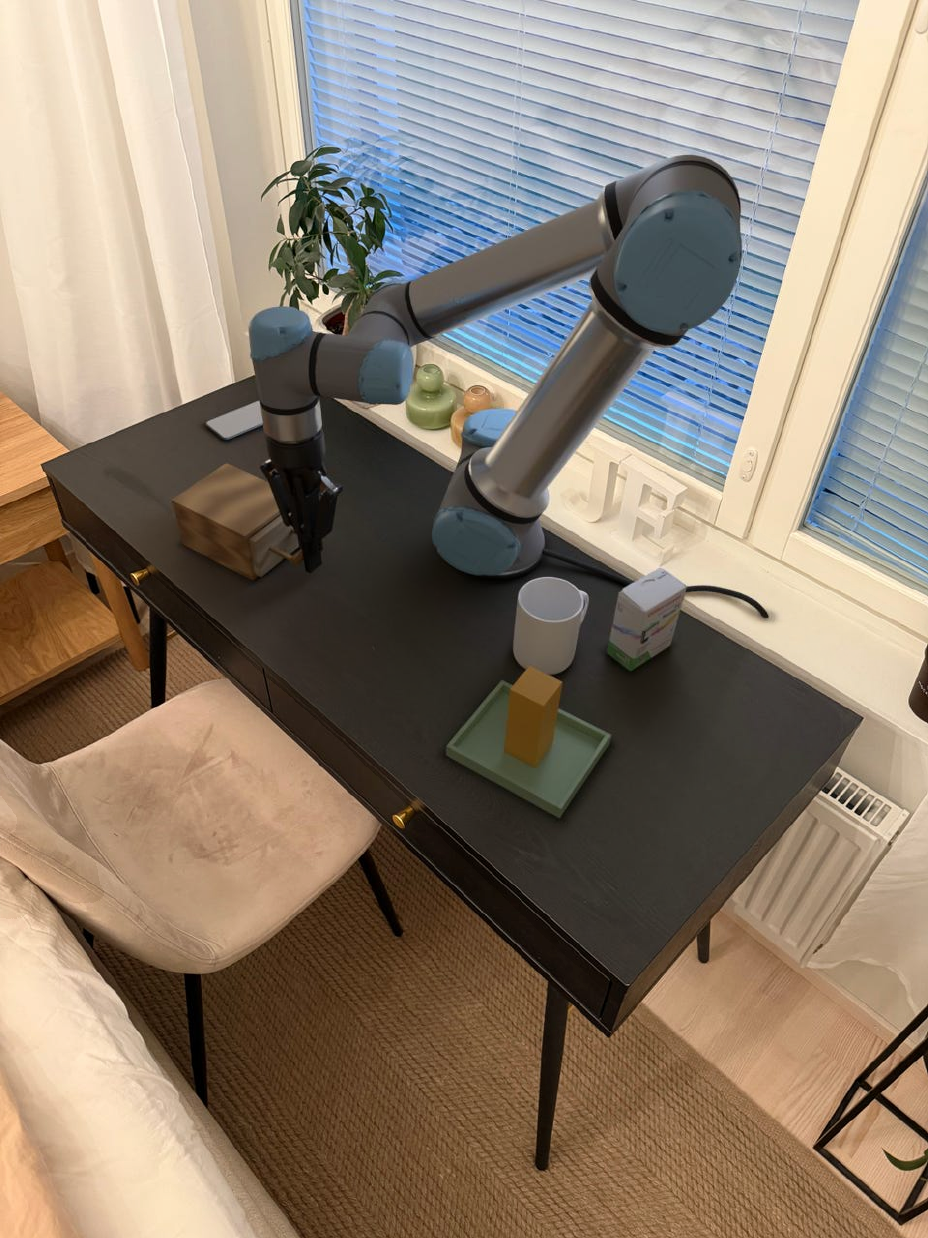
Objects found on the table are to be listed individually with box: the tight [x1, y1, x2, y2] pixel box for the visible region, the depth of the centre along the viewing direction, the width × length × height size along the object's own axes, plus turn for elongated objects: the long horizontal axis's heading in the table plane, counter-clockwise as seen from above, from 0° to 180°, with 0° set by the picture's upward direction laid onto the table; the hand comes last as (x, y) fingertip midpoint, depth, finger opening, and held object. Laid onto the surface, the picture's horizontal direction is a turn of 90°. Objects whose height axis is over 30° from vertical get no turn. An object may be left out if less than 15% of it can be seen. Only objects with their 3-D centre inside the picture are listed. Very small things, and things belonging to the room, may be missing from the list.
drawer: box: [249, 513, 324, 578], centre depth 135 cm, size 19×10×7 cm, turn 57°
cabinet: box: [171, 462, 280, 581], centre depth 136 cm, size 15×12×9 cm
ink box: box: [606, 567, 688, 672], centre depth 121 cm, size 8×5×12 cm, turn 129°
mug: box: [512, 576, 590, 676], centre depth 121 cm, size 9×12×11 cm
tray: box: [445, 679, 612, 819], centre depth 112 cm, size 16×13×2 cm
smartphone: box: [204, 400, 263, 441], centre depth 164 cm, size 7×1×15 cm
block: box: [504, 666, 563, 768], centre depth 108 cm, size 4×4×12 cm
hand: (313, 567), depth 132 cm, fingers closed
